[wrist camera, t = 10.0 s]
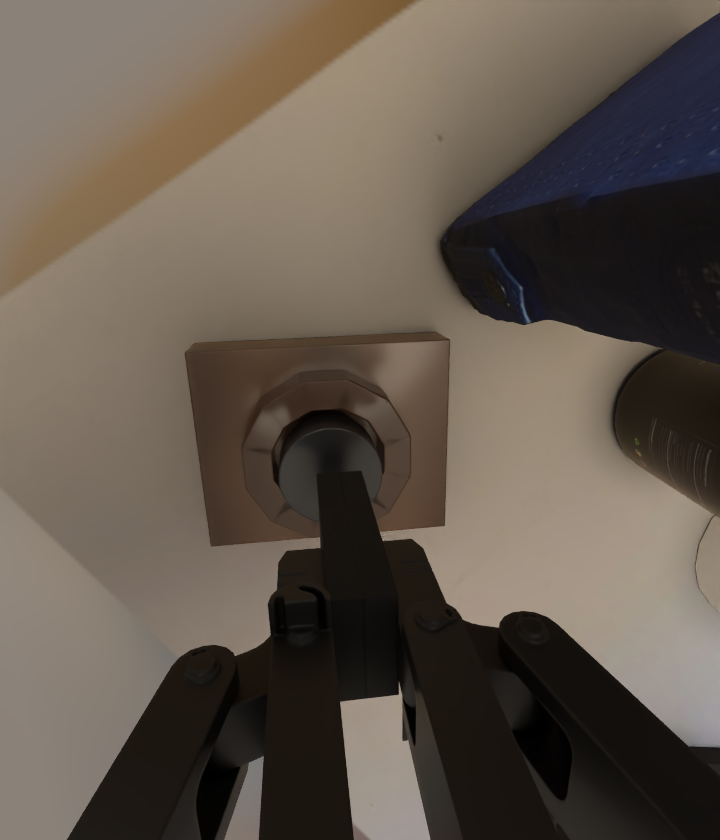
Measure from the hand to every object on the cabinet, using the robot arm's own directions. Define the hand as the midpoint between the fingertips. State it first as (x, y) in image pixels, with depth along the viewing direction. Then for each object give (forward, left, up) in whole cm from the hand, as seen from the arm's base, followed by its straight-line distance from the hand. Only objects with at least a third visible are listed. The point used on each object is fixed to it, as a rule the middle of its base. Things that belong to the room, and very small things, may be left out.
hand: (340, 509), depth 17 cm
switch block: (0, 0, -8) cm, 8 cm away
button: (0, 0, -4) cm, 4 cm away
